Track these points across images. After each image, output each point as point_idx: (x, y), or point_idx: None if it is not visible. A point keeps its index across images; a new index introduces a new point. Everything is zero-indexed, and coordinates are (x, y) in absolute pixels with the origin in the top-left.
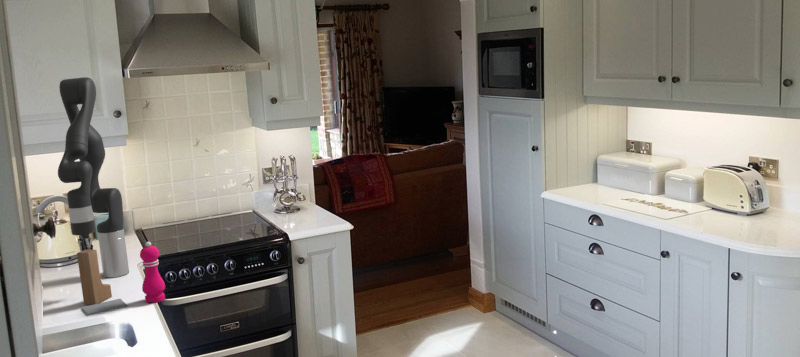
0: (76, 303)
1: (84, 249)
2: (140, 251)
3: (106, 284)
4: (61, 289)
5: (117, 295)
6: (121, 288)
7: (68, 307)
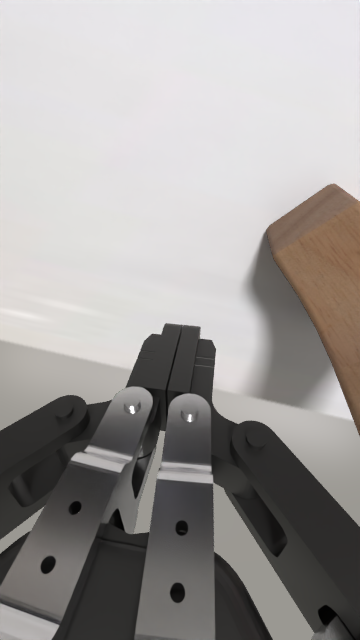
0: (265, 329)
1: (314, 626)
2: None
3: (349, 229)
4: (17, 314)
5: (337, 143)
6: (198, 66)
7: (289, 359)
